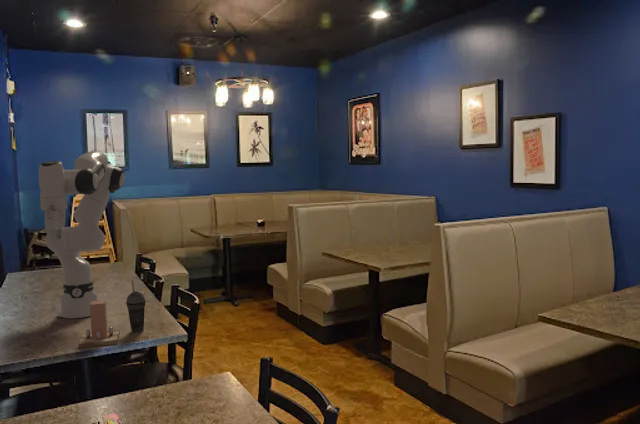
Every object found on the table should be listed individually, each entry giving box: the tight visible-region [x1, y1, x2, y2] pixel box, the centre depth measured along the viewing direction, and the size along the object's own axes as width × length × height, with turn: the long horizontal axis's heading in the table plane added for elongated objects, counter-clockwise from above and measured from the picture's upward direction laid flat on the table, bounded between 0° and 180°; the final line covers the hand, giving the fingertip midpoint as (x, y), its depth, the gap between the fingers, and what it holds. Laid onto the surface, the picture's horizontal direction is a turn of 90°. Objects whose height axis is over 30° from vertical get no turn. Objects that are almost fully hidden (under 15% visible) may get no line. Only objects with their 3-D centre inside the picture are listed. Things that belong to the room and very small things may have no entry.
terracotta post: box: [89, 299, 109, 339], centre depth 195 cm, size 5×5×13 cm
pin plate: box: [78, 326, 121, 349], centre depth 196 cm, size 13×13×4 cm
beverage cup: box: [125, 280, 146, 334], centre depth 206 cm, size 7×7×20 cm
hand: (56, 241), depth 198 cm, fingers open, 8 cm apart
